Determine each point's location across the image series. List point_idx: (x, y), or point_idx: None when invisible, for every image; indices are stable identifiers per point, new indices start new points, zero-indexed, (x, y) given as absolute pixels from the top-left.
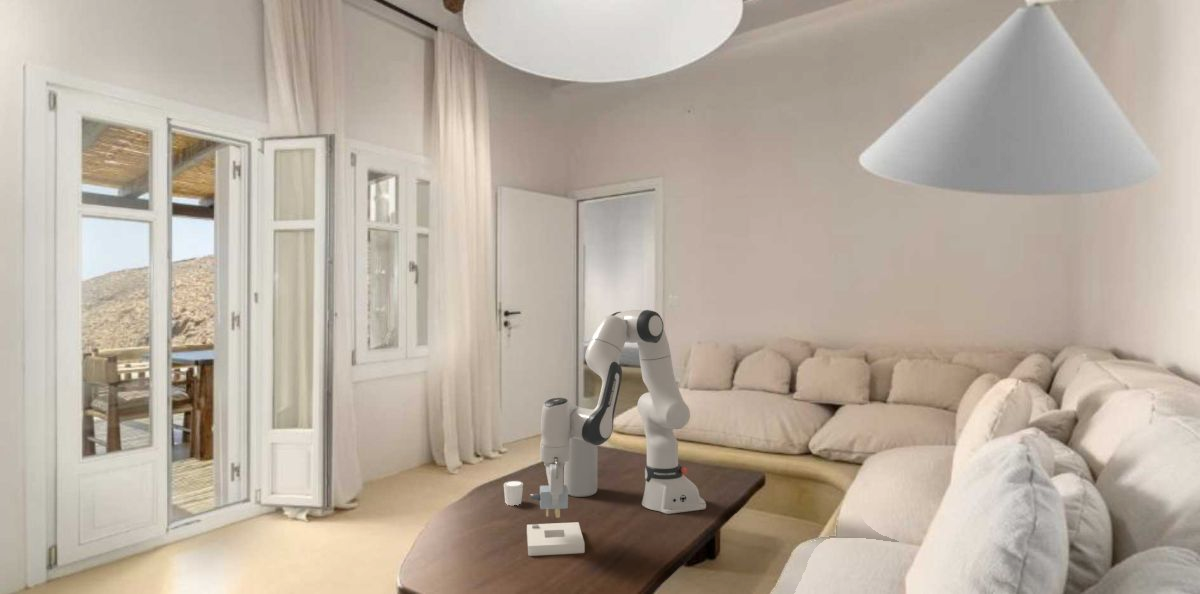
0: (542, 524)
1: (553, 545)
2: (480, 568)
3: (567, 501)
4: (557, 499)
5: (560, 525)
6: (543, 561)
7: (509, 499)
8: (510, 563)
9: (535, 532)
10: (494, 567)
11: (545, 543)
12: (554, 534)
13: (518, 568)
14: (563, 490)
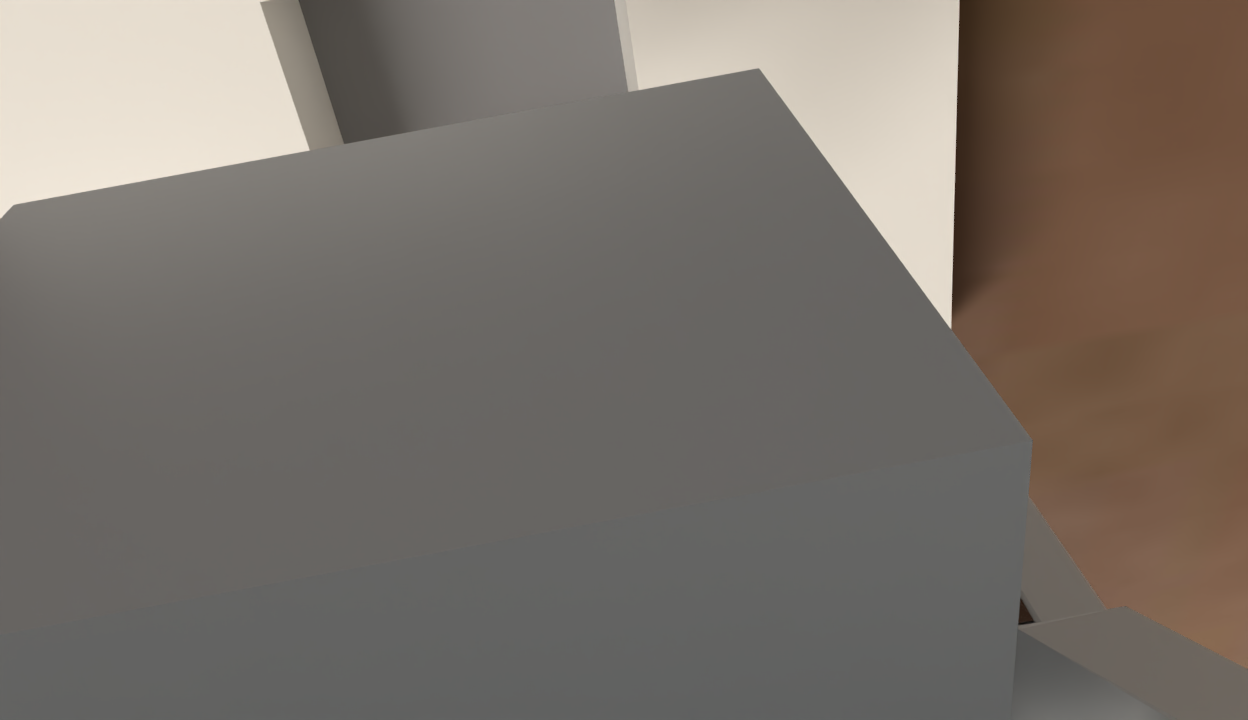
0: None
1: (950, 114)
2: None
3: (826, 183)
4: (1094, 609)
5: (62, 92)
6: (1086, 173)
7: None
8: (1057, 496)
9: None
10: (1111, 599)
11: (891, 245)
12: (330, 146)
13: (1196, 406)
14: (802, 699)
